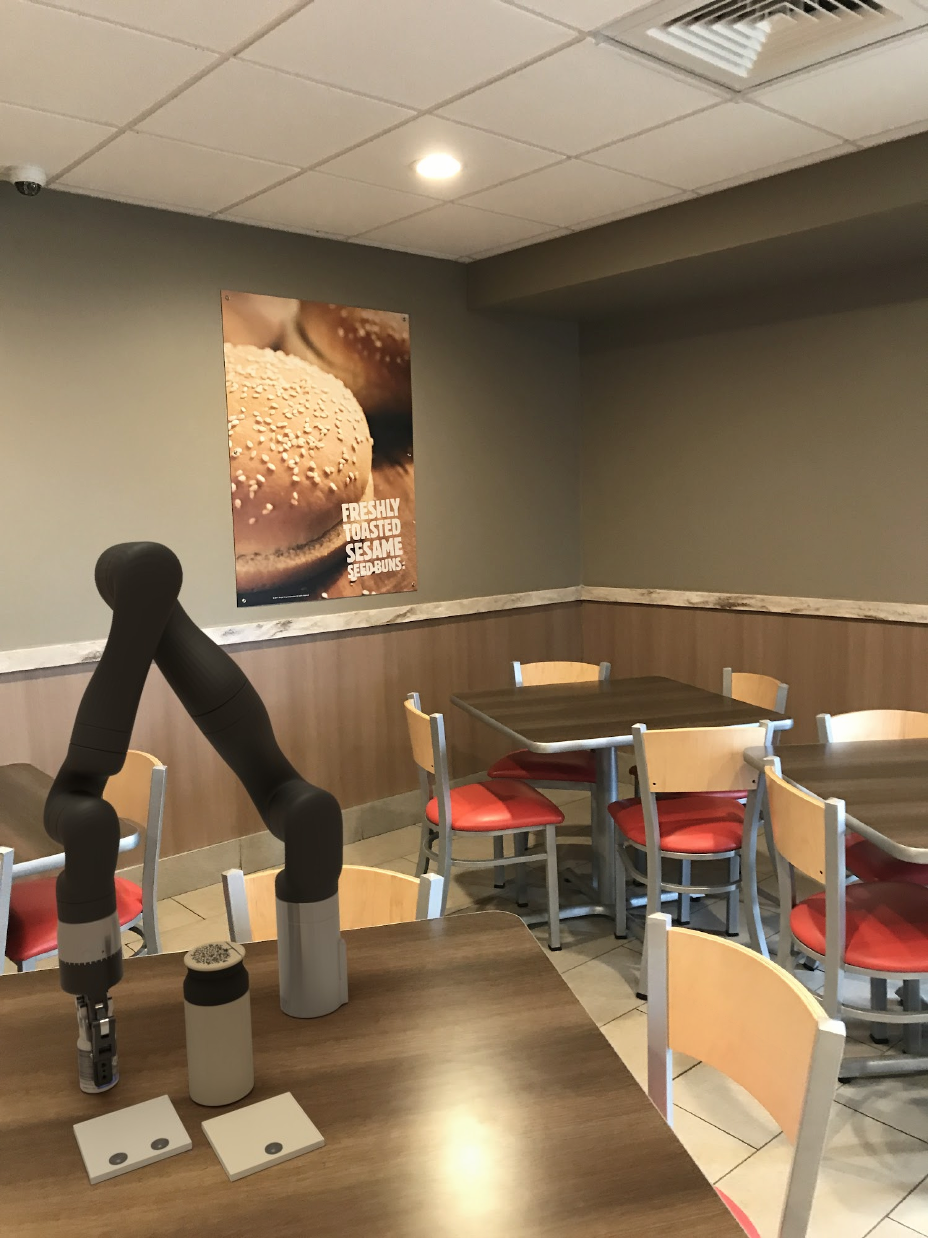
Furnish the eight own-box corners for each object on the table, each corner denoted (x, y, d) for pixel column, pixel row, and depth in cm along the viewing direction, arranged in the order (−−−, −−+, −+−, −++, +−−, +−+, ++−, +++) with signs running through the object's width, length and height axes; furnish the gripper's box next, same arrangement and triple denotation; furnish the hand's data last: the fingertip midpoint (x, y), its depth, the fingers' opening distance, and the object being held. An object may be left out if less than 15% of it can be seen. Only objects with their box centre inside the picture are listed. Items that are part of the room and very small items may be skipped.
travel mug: (197, 1116, 117) (188, 974, 115) (183, 1082, 124) (175, 948, 122) (261, 1096, 120) (254, 959, 118) (245, 1065, 127) (238, 935, 125)
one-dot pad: (289, 1098, 120) (289, 1091, 120) (324, 1145, 111) (324, 1138, 110) (201, 1128, 114) (201, 1121, 114) (231, 1182, 105) (230, 1174, 105)
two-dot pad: (167, 1100, 120) (166, 1093, 120) (192, 1148, 111) (191, 1141, 110) (73, 1131, 114) (73, 1124, 114) (91, 1185, 105) (91, 1177, 105)
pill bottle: (106, 1096, 121) (101, 1033, 120) (72, 1092, 122) (67, 1030, 121) (126, 1074, 126) (122, 1013, 125) (94, 1071, 127) (89, 1010, 126)
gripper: (133, 960, 118) (142, 1091, 120) (109, 920, 130) (117, 1040, 132) (68, 977, 114) (78, 1112, 116) (49, 934, 126) (58, 1057, 128)
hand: (99, 1073), depth 124 cm, fingers closed on pill bottle, 4 cm apart
